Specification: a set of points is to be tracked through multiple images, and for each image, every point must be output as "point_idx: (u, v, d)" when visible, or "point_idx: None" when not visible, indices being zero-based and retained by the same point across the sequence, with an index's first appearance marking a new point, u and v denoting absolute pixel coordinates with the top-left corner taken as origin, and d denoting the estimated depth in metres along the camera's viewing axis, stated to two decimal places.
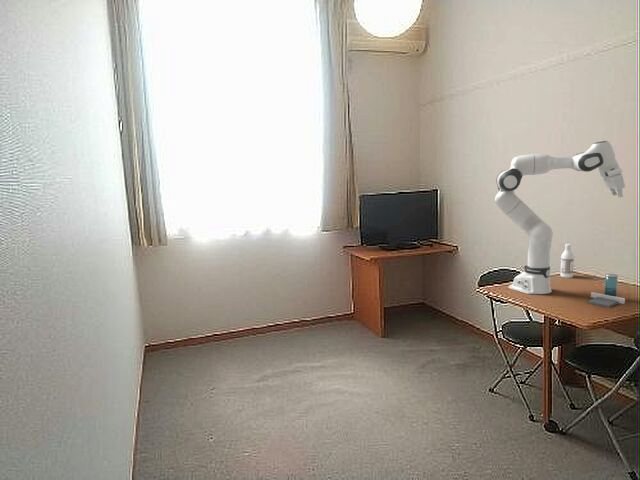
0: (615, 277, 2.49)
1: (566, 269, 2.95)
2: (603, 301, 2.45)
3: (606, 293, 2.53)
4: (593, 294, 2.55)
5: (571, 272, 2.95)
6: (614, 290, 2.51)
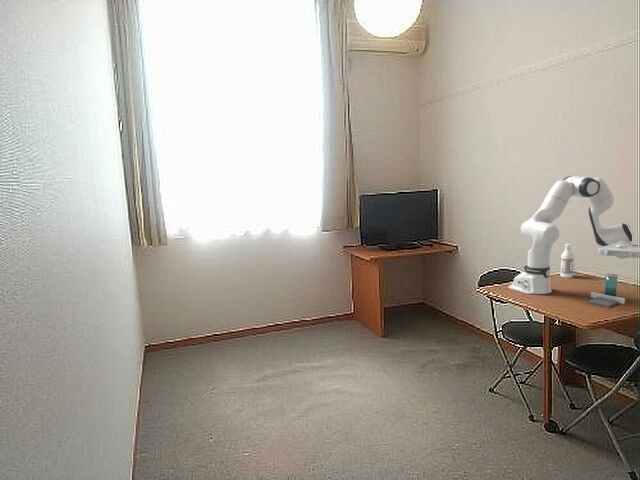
0: (615, 277, 2.49)
1: (566, 269, 2.95)
2: (603, 301, 2.45)
3: (606, 293, 2.53)
4: (593, 294, 2.55)
5: (571, 272, 2.95)
6: (614, 290, 2.51)
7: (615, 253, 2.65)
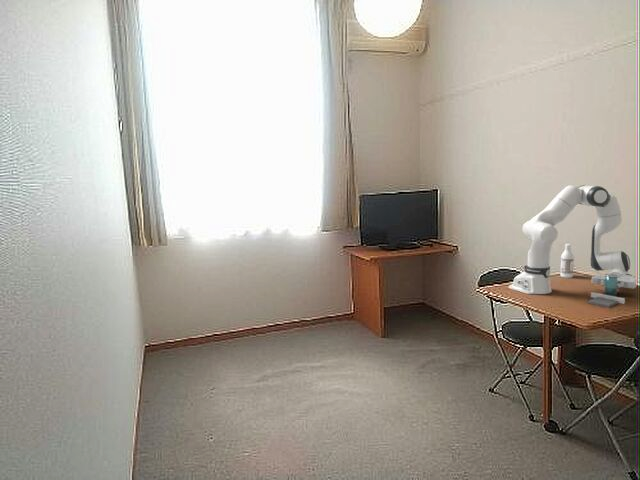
0: (615, 277, 2.49)
1: (566, 269, 2.95)
2: (603, 301, 2.45)
3: (606, 293, 2.53)
4: (593, 294, 2.55)
5: (571, 272, 2.95)
6: (614, 290, 2.51)
7: None
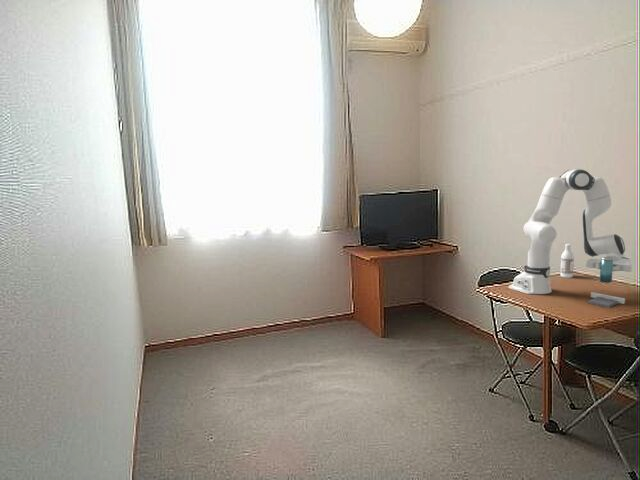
0: (611, 260, 2.41)
1: (566, 269, 2.95)
2: (603, 301, 2.45)
3: (601, 276, 2.45)
4: (593, 294, 2.55)
5: (571, 272, 2.95)
6: (610, 273, 2.43)
7: None
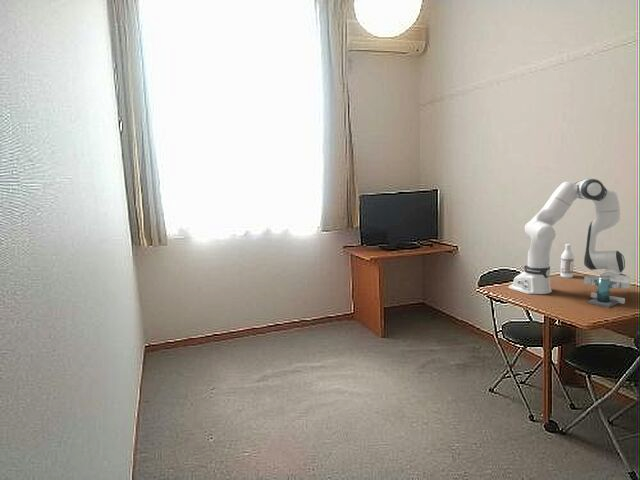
0: (607, 279, 2.41)
1: (566, 269, 2.95)
2: None
3: (599, 296, 2.44)
4: (593, 294, 2.55)
5: (571, 272, 2.95)
6: (607, 293, 2.42)
7: None
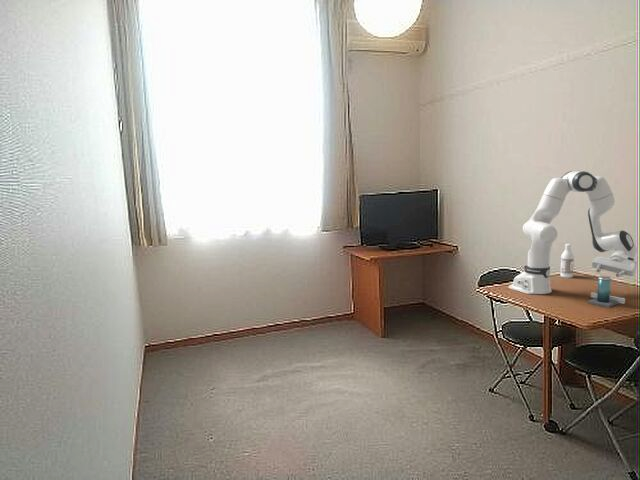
0: (608, 280, 2.41)
1: (566, 269, 2.95)
2: None
3: (599, 296, 2.44)
4: (593, 294, 2.55)
5: (571, 272, 2.95)
6: (607, 293, 2.42)
7: (608, 268, 2.57)
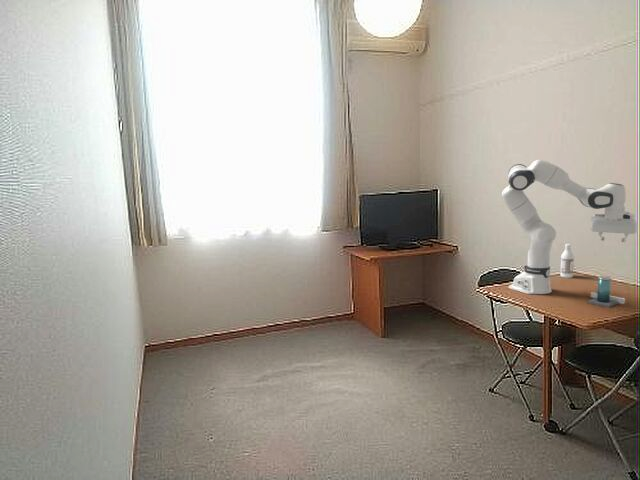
0: (608, 280, 2.41)
1: (566, 269, 2.95)
2: None
3: (599, 296, 2.44)
4: (593, 294, 2.55)
5: (571, 272, 2.95)
6: (607, 293, 2.42)
7: None
